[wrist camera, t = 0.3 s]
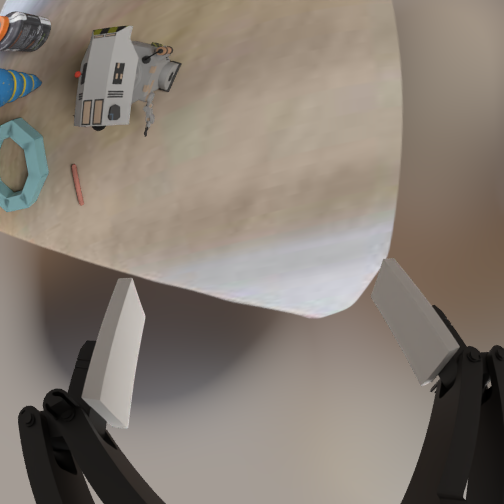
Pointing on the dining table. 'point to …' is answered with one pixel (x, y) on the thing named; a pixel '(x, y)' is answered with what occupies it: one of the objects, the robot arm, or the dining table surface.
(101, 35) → the figurine
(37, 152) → the teal octagonal ring
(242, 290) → the dining table surface
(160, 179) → the dining table surface
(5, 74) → the ornament
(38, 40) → the pill bottle
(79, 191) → the reddish pink rod
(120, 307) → the robot arm
